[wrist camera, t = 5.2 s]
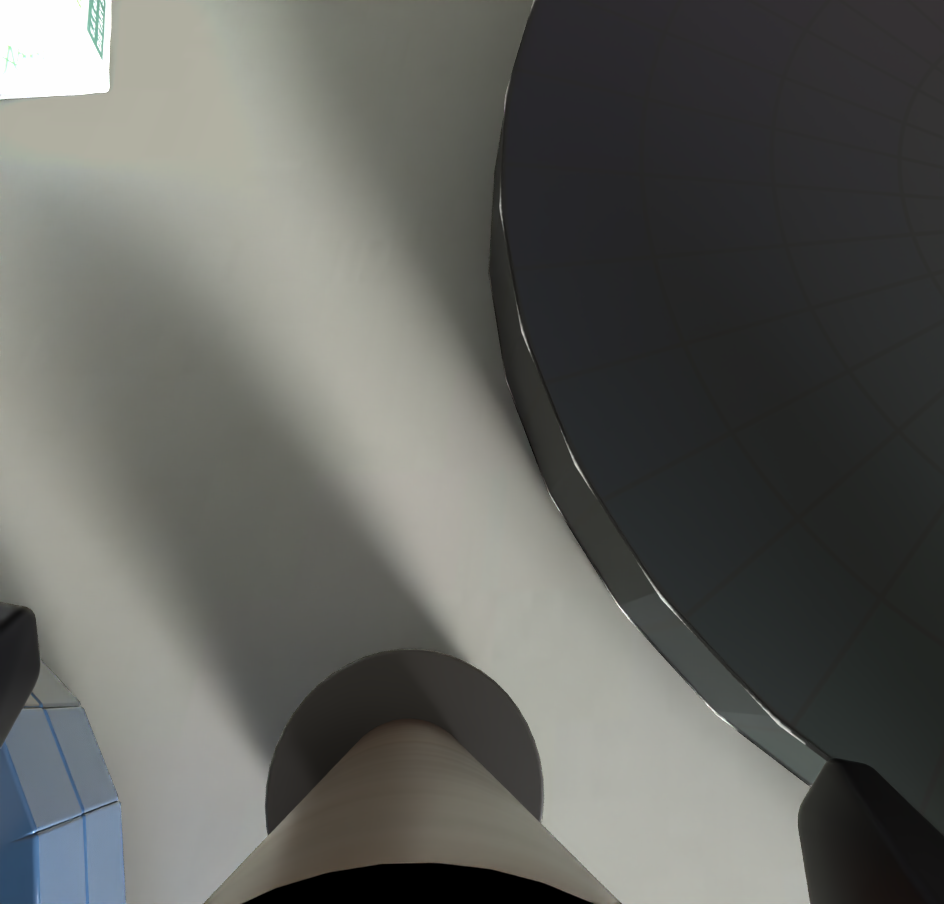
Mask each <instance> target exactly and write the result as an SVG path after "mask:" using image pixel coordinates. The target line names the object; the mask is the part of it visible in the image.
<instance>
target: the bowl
mask: <svg viewBox="0 0 944 904" xmlns="http://www.w3.org/2000/svg"><path fill="white" fill-rule="evenodd" d="M80 705H81V704H80V702H79V701H78V699H77V698H76V697H75V696H74V695H73V694H72V693H71V692H70V691H69V689H68V688H67V687H66V686H65V685H64V684H63V683H62V682H61V681H60V680H59V678H58V677H57V676H56V675H55V674H54V673H53V672H52V671H51V670H50V668H49V667H48V666H47V665H46V664H45V663H44V662H43V661H42V660H41V658H40V673H39V677H38V680H37V682H36V685H35V687H34V689H33V691H32V693H31V694H30V696H29V698H28V700H27V702H26V703H25V705H24V707H23V709H22V711H21V712H20V714H19V716H18V718H17V720H16V721H15V723H14V725H13V727H12V729H11V730H10V732H9V734H8V736H7V738H6V739H5V741H4V743H3V745H2V747H1V748H0V904H126V896H125V877H124V858H123V839H122V820H121V803H120V801H117V800H118V794H117V792H116V789H115V787H114V784H113V782H112V779H111V777H110V774H109V772H108V769H107V767H106V764H105V762H104V759H103V756H102V754H101V751H100V749H99V746H98V744H97V741H96V739H95V736H94V734H93V731H92V729H91V726H90V724H89V721H88V718H87V716H86V713H85V711H84V708H82V707H81V706H80Z"/></svg>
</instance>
